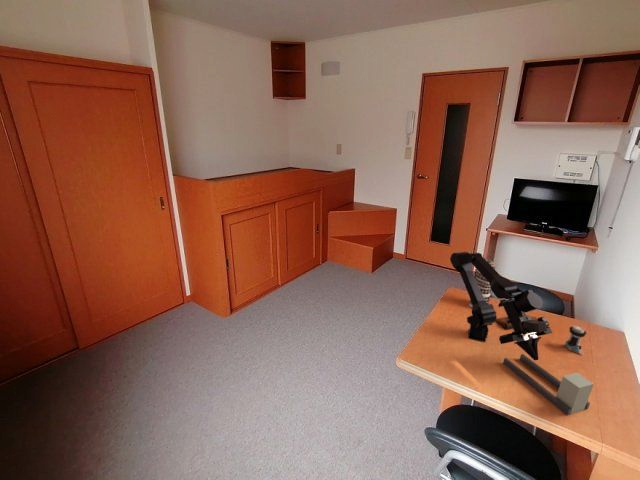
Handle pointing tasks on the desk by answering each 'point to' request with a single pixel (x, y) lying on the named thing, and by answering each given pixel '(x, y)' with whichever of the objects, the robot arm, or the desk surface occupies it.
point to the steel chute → (536, 385)
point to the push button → (575, 339)
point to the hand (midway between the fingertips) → (536, 360)
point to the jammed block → (574, 391)
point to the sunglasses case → (504, 323)
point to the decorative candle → (484, 283)
